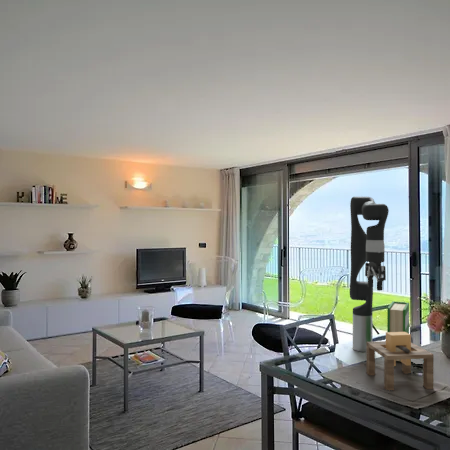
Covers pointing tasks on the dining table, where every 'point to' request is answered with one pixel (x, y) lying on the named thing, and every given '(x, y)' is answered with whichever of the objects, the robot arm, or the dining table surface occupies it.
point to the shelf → (391, 356)
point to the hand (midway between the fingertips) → (374, 288)
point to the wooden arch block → (398, 343)
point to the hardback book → (398, 318)
